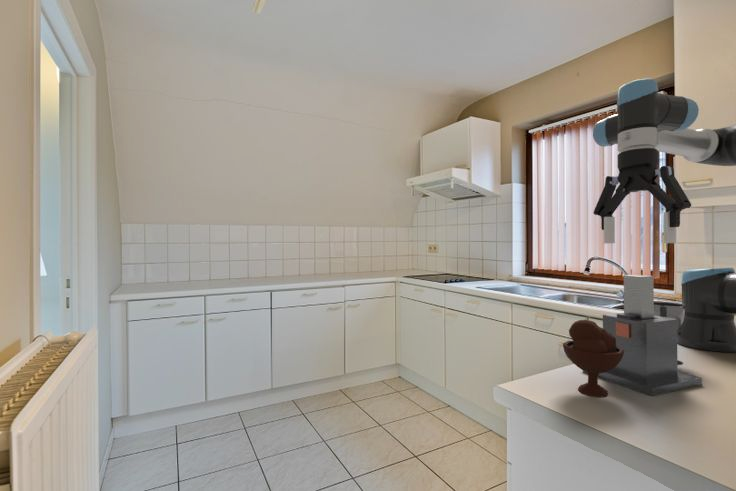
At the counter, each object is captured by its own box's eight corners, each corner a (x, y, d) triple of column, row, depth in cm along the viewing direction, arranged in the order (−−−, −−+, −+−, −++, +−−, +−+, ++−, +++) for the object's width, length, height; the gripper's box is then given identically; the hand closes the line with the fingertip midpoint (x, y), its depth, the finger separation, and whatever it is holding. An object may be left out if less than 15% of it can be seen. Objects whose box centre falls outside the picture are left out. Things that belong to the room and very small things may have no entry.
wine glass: (692, 366, 94) (692, 306, 94) (656, 364, 96) (656, 305, 96) (673, 356, 102) (673, 301, 102) (640, 355, 104) (640, 301, 104)
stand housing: (628, 363, 97) (628, 305, 97) (701, 385, 82) (701, 317, 82) (582, 371, 92) (582, 310, 92) (652, 396, 77) (651, 323, 77)
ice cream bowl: (604, 407, 72) (604, 328, 72) (552, 387, 82) (551, 318, 82) (636, 396, 77) (635, 322, 77) (582, 378, 86) (582, 313, 86)
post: (636, 363, 90) (635, 274, 90) (655, 369, 86) (654, 276, 85) (623, 366, 88) (622, 275, 88) (642, 371, 84) (641, 276, 84)
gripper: (577, 160, 97) (578, 243, 97) (688, 134, 74) (689, 242, 74) (599, 163, 100) (599, 243, 100) (712, 137, 76) (712, 242, 76)
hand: (637, 243), depth 87 cm, fingers open, 13 cm apart
